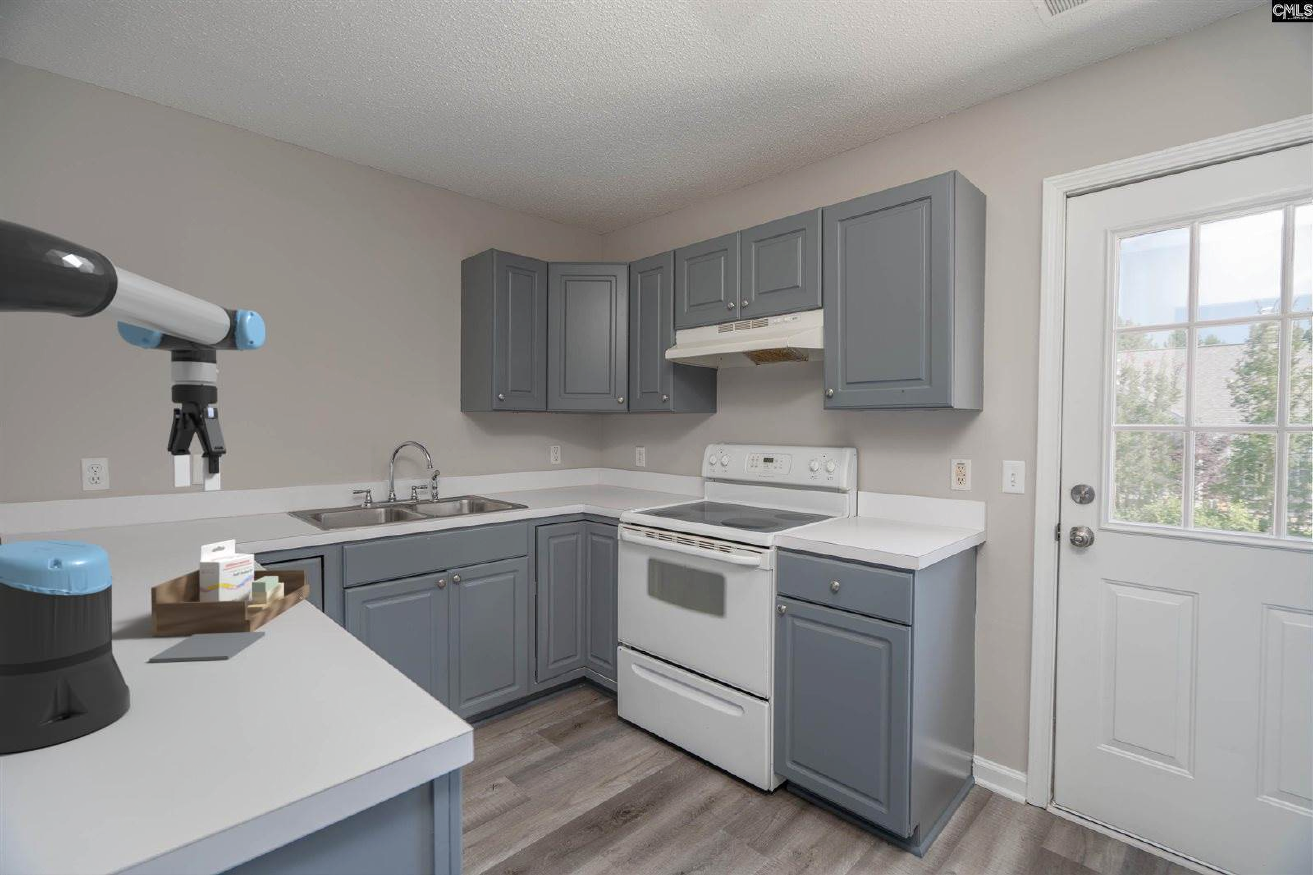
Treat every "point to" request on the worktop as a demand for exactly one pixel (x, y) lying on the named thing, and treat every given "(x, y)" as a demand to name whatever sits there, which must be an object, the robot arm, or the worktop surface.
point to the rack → (217, 606)
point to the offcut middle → (268, 595)
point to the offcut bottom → (259, 607)
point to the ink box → (225, 573)
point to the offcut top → (265, 584)
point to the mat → (208, 647)
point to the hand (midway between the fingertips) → (196, 488)
